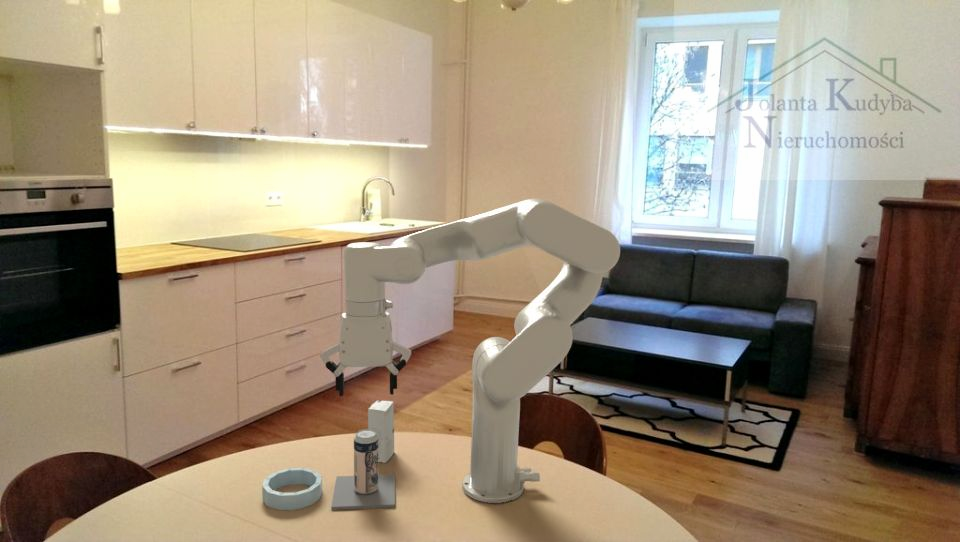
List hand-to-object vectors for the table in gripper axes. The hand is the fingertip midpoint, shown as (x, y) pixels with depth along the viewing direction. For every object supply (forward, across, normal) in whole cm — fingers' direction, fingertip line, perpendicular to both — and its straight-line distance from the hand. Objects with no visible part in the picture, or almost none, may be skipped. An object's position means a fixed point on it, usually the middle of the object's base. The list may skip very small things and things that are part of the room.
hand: (366, 393), depth 129 cm
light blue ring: (+21, +15, 0) cm, 25 cm away
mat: (+21, +1, 0) cm, 21 cm away
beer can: (+21, 0, 0) cm, 21 cm away
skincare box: (+21, -2, -16) cm, 27 cm away
